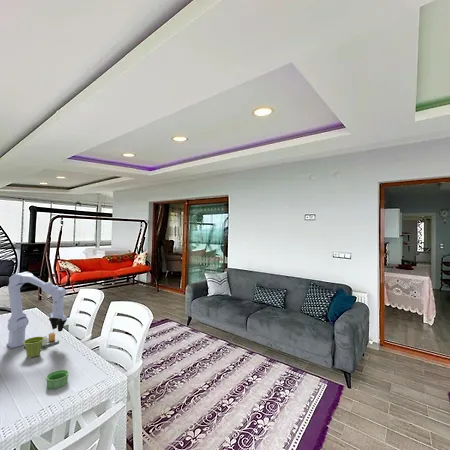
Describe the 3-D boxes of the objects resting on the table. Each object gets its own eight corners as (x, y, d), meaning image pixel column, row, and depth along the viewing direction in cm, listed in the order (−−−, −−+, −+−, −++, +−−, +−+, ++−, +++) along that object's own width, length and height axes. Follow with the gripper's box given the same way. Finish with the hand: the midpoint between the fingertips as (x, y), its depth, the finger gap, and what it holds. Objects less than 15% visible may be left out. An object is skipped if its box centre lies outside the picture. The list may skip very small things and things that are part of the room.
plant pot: (32, 360, 143) (33, 344, 143) (18, 358, 145) (19, 342, 145) (47, 352, 152) (48, 337, 152) (34, 350, 154) (34, 335, 154)
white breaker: (40, 344, 160) (41, 336, 160) (45, 342, 162) (45, 335, 162) (42, 345, 158) (43, 337, 158) (47, 343, 160) (47, 336, 160)
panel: (23, 347, 158) (23, 344, 158) (51, 338, 171) (51, 336, 171) (30, 352, 152) (30, 348, 152) (59, 342, 165) (59, 339, 165)
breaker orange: (48, 340, 165) (48, 333, 165) (53, 338, 167) (53, 331, 168) (50, 341, 164) (50, 334, 164) (54, 339, 166) (55, 332, 166)
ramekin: (57, 391, 117) (58, 381, 117) (40, 388, 119) (41, 378, 119) (72, 379, 126) (73, 370, 126) (56, 377, 128) (56, 368, 128)
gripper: (44, 307, 162) (44, 329, 162) (57, 311, 155) (57, 334, 155) (56, 304, 168) (56, 326, 168) (69, 308, 161) (69, 330, 161)
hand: (57, 329), depth 162 cm, fingers open, 6 cm apart
